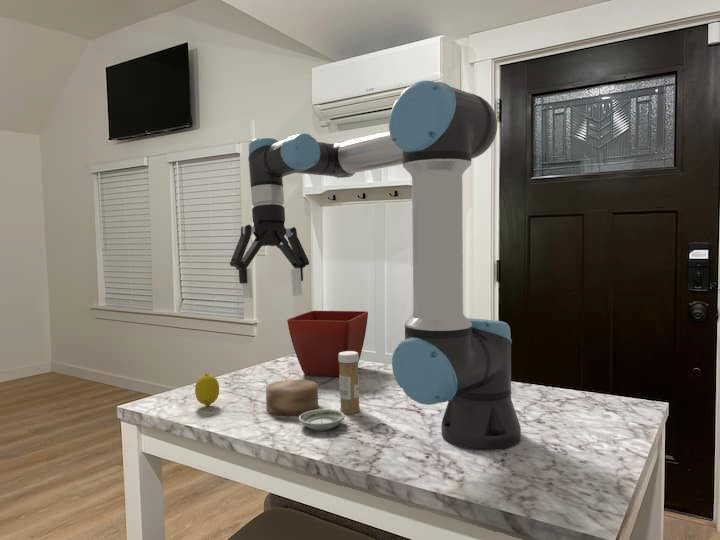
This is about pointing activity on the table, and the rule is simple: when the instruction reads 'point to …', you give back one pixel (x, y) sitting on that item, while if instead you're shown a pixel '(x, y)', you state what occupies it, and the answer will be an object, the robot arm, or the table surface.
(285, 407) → the walnut pedestal
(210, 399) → the lemon
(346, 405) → the sprinkles bottle
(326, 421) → the saucer
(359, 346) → the plant pot
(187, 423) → the table surface
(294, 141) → the robot arm
